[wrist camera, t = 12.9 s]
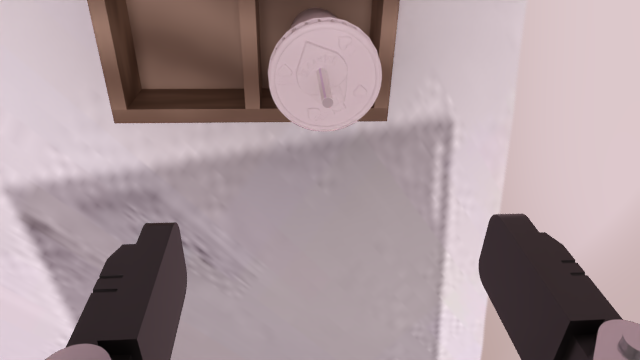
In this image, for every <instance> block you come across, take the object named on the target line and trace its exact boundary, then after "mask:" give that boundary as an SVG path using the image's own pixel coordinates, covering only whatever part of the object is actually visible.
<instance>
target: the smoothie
mask: <svg viewBox="0 0 640 360" xmlns="http://www.w3.org/2000/svg"><path fill="white" fill-rule="evenodd" d="M268 79H269V88H270V92H271V95H272V98H273V100H274V102H275V104H276V106H277V107H278V109H279V110H280V111H281V113H282V114H283V115H284V116H285V117H286V118H288V119H289V120H290V121H292V122H293V123H295V124H296V125H298V126H301V127H303V128H306V129H309V130H314V131H334V130H338V129H342V128H344V127H347V126H349V125H351V124H353V123H355V122H356V121H358V120H359V119H360V118H362V117H363V116H364V115H365V114H366V113H367V112H368V111H369V109H370V108H371V107H372V105H373V104H374V102H375V100H376V98H377V96H378V94H379V91H380V87H381V82H382V69H381V63H380V59H379V57H378V53H377V50H376V48H375V46H374V45H373V43H372V41H371V39H370V38H369V37H368V36H367V35H366V34H365V33H364V32H363V31H362V30H361V29H360V28H359V27H357V26H355V25H353V24H351V23H349V22H348V21H346V20H342V19H338V18H337V17H335V16H334V15H333V14H332V13H330V12H329V11H327V10H325V9H321V8H310V9H307V10H305V11H303V12H301V13H300V14H299V15H298V16H297V17H296V18H295V20H294V21H293V23H292V25H291V27H290V29H289V31H287V32H286V33H285V34H284V35H283V37H282V38H281V39H280V40H279V41H278V43H277V44H276V46H275V48H274V50H273V52H272V54H271V57H270V61H269V67H268Z"/></svg>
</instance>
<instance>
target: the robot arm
mask: <svg viewBox="0 0 640 360" xmlns="http://www.w3.org/2000/svg"><path fill="white" fill-rule="evenodd" d="M479 274H480V279H481V282H482V284H483V286H484V288H485V290H486V292H487V294H488V296H489V298H490V300H491V302H492V303H493V305H494V307H495V309H496V311H497V313H498V315H499V317H500V319H501V321H502V323H503V325H504V327H505V329H506V330H507V332H508V335H509V336H510V338H511V340H512V342H513V344H514V346H515V348H516V350H517V352H518V354H519V356H520V358H521V360H640V324H638V323H634V322H631V321H626V320H623V319H622V318H621V317H620V316H619V314H618V313H617V312H616V311H615V309H614V308H613V307H612V306H611V304H610V303H609V302H608V301H607V300H606V298H605V297H604V296H603V294H602V293H601V292H600V291H599V289H598V288H597V287H596V286H595V284H594V283H593V282H592V281H591V279H590V278H589V277H588V276H585V272H584V271H583V269H582V268H581V267H580V266H579V265H578V263H575V259H574V258H573V257H572V256H571V254H570V253H569V252H568V251H567V249H566V248H565V247H564V246H563V245H562V244H561V243H559V242H558V241H557V240H555V239H554V238H552V237H551V236H549V235H548V234H547V233H545V232H544V233H539V232H538V230H537V229H536V228H535V226H534V225H533V224H532V222H531V221H530V220H529V218H528V217H527V216H526V215H524V214H496V215H493V216H492V217H491V218H490V221H489V224H488V228H487V232H486V236H485V239H484V243H483V247H482V251H481V255H480V259H479ZM186 287H187V271H186V264H185V258H184V253H183V247H182V241H181V235H180V230H179V226H178V224H177V223H146V224H145V225H144V226H143V228H142V231H141V233H140V236H139V238H138V241H137V243H136V244H127V245H122V246H121V247H120V248H119V249H118V250H117V251H116V252H114V253H113V254H112V255H111V256H110V257H109V258H108V259H107V261H106V263H105V265H104V267H103V269H102V272H101V274H100V278H99V279H98V280H97V282H96V284H95V286H94V289H93V293H91V295H90V297H89V299H88V301H87V303H86V306H85V308H84V310H83V312H82V314H81V316H80V318H79V321H78V323H77V325H76V327H75V329H74V331H73V333H72V335H71V338H70V340H69V342H68V344H67V346H66V348H64V349H61V350H59V351H57V352H55V353H54V354H52V355H51V356H49V357H48V358H46V359H45V360H170V358H171V354H172V350H173V346H174V341H175V337H176V333H177V328H178V324H179V320H180V316H181V311H182V307H183V303H184V299H185V294H186Z"/></svg>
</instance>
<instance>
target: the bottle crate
mask: <svg viewBox="0 0 640 360" xmlns="http://www.w3.org/2000/svg"><path fill="white" fill-rule="evenodd" d="M399 1H400V0H87V2H88V6H89V11H90V15H91V20H92V24H93V29H94V33H95V38H96V42H97V47H98V51H99V56H100V60H101V65H102V69H103V74H104V78H105V83H106V87H107V91H108V96H109V100H110V105H111V109H112V114H113V118H114V123H211V122H292V121H290V120H289V119H288V118H286V117H285V116H284V115H283V114H282V113H281V111H280V110H279V109H278V107H277V106H276V104H275V102H274V100H273V98H272V95H271V92H270V88H269V79H268V67H269V61H270V57H271V54H272V52H273V50H274V48H275V46H276V44H277V43H278V41H279V40H280V39H281V38H282V37H283V35H284V34H285V33H286V32H287V31H289V29H290V27H291V25H292V23H293V21H294V20H295V18H296V17H297V16H298V15H299V14H300V13H301V12H303V11H305V10H307V9H310V8H321V9H325V10H327V11H329V12H330V13H332V14H333V15H334V16H335V17H337V18H338V19H342V20H346V21H348V22H349V23H351V24H353V25H355V26H357V27H359V28H360V29H361V30H362V31H363V32H364V33H365V34H366V35H367V36H368V37H369V38H370V39H371V41H372V43H373V45H374V46H375V48H376V50H377V53H378V57H379V59H380V63H381V69H382V82H381V87H380V91H379V94H378V96H377V98H376V100H375V102H374V104H373V105H372V107H371V108H370V109H369V111H368V112H367V113H366V114H365V115H364V116H363V117H362V118H360V119H359V120H358V121H387V116H388V106H389V96H390V87H391V77H392V68H393V58H394V49H395V39H396V30H397V20H398V11H399Z"/></svg>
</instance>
